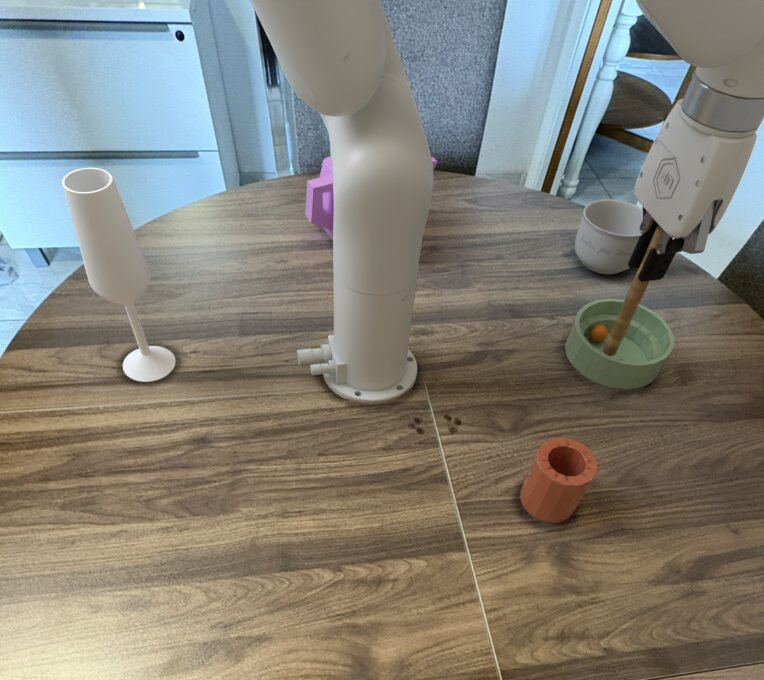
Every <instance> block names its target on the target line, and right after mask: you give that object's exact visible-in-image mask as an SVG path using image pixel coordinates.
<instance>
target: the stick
mask: <svg viewBox="0 0 764 680" xmlns="http://www.w3.org/2000/svg"><path fill="white" fill-rule="evenodd" d="M663 232H664V230H663V229H662V228H661V227H660V226H657V228H656V230H655V233H654V235H653V237H652V239H651V242H650V244H649V246H648V249H647V251H646V253H645V255H644V258H643V260H642V262H641V264H640V267H639V268H637V271H636V273H635V276H634V278H633V280H632V282H631V284H630V287H629V290H628V291H627V294H626V296H625V299H624V300H625V301H624V303H623V305H622V307H621V310H620V312H619V314H618V316H617V319H616V321H615V323H614V325H613V328H612V330H611V332H610V335H609V337H608V339H607V341H606V344H605V346H604V348H603V352H604V354H606V355H608V356H614V355H615V354H616V352H617V350H618V348H619V346H620V344H621V342H622V339H623V337H624V335H625V333H626V331H627V329H628V327H629V324H630V322H631V320H632V318H633V316H634V314H635V312H636V310H637V307H638V305H639V304H640V303H641V301H642V298H643V296H644V294H645V293H646V290H647V288H648V285H649V284H650V282H651V281H645V282H640V280H639V279H638V275H639V273H640V271H641V269H642V267H643V265H644V263H645V260H646V258H647V256H648V254H649V252H650V250H651V249H654V248H656V246H657V244H658V242H659V240H660V238H661V236H662V234H663Z"/></svg>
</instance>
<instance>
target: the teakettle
mask: <svg viewBox="0 0 764 680" xmlns="http://www.w3.org/2000/svg"><path fill="white" fill-rule="evenodd" d="M431 158H432V165H433V171H434V170H435V168H436V166H437V164H438V160H437V159H436V158H434V157H433V156H431ZM304 215H305V217H306V218H307V220H308V221H309V223H310V224H311V225H315V226H318V227H321V228H323V230H324V232H325V233H326V234H327V235H328V237H329V238H330V239H331V241H332V242H333V218H334V198H333V174H332V163H331V155H328V156H327V157H325V158H324V159H323V160H322V162H321V170H320V173H319V177H316V178H312V179H308V180H306V197H305V214H304Z"/></svg>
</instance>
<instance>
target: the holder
mask: <svg viewBox="0 0 764 680" xmlns="http://www.w3.org/2000/svg"><path fill="white" fill-rule="evenodd" d="M597 473H598V460H597V459H596V457H595V455H594V453H593V451H592V450H591V449H590V448H589V447H587V446H586V445H585V444H583V443H582V442H580V441H577V440H575V439H572V438H569V437H553V438H551V439H548V440H546V441H544V442H543V443H542V444H541V445H540V446H539V448H538V449H537V451H536V453H535V454H534V457H533V460H532V463H531V465H530V467H529V469H528V472H527V474H526V476H525V479H524V480H523V483H522V486H521V488H520V495H519V500H520V502H521V505H522V507H523V508H524V510H525V511H526V512H527V513H528V514H529V515H530V516H531V517H532V518H534V519H536V520H538V521H540V522H544V523H551V524H552V523H553V524H555V523H561V522H564V521H566V520H567V519H570V518H571V517H572V515H573V514H574V512H575V511H576V509H577V508H578V506H579V504H580V502H581V501H582V499H583V498H584V495H585V494H586V492H587V491H588V489H589V487H590V485H591V484H592V482H593V481H594V478H595V477H596V475H597Z"/></svg>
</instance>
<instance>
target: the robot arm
mask: <svg viewBox="0 0 764 680" xmlns="http://www.w3.org/2000/svg"><path fill="white" fill-rule="evenodd" d="M249 2H250V3H251V6H252V7H253V10H254V12H255V14H256V16H257V18H258V20H259V22H260V25H261V26H262V28H263V30H264V32H265V35H266V36H267V39H268V40H269V43H270V45H271V46H272V49H273V52H274V54H275V56H276V58H277V61H278V63H279V66H280V68H281V70H282V73H283V75H284V77H285V78H286V80H287V82H288V84H289V85H290V87H291V89H292V91H294V92H295V94H296V95H297V96H298V97H299V98H300V100H301V101H302V102H304V103H305V104H306V105H307V106H308V107H310V108H311V109H312V110H314V111H315V112H318V113H319V115H320V117H321V119H322V121H323V124H324V126H325V128H326V131H327V134H328V140H329V151H330V153H329V155H330V156H331V163H332V174H333V198H334V218H333V241H332V271H333V273H332V275H333V278H332V279H333V281H332V282H333V285H332V286H333V334H330V335H327V343H325V344H323V343H322V344H320V347H317V348H316V347H315V348H303V349H302V348H301V349H296V355H297V356H296V358H297V362H298V366H305V365H309V369H310V374H311V376H319V375H322V376H323V380H324V382H325V384H326V385H327V386H328V388H329V389H331V391H332V392H333V393H334V394H336V395H337V396H339V397H340V398H341V399H344V400H353V401H357V402H362V403H383V402H388V401H391V400H394V399H397V398H399V397H401V396H402V395H404V394H406V393H407V392H408V391H410V390H412V388H413V387H414V385H415V383H416V381H417V376H418V363H417V359H416V357H415V355H414V353H413V352H412V351H411V350H410V349H409V345H410V337H411V330H412V321H413V313H414V308H415V307H414V306H415V298H416V289H417V282H418V275H419V274H418V273H419V272H418V271H419V265H420V257H421V249H422V242H423V237H424V233H425V229H426V224H427V220H428V217H429V212H430V210H431V206H432V205H431V204H432V200H433V194H434V182H435V181H434V179H435V177H434V170H433V165H432V158H431V157H432V154H431V153H432V152H431V149H430V146H429V141H428V139H427V138H428V137H427V135H426V132H425V129H424V125H423V123H422V120H421V116H420V113H419V109H418V106H417V103H416V100H415V97H414V94H413V92H412V88H411V86H410V83H409V80H408V77H407V74H406V71H405V69H404V66H403V62H402V60H401V56H400V54H399V50H398V49H397V46H396V43H395V40H394V37H393V33H392V31H391V28H390V25H389V23H388V19H387V17H386V13H385V10H384V7H383V5H382V2H381V0H249ZM635 2H636V4H637V6H638V8H639V10H640V11H641V14H643V16H644V17H645V18H646V19H647V20H648V21H649V22H650V24H651V25H652V26H653V27H654V29H655V30H657V33H659V34H660V35H661V36H662V37H663V38H664V39H665V40H666V41H667V43H668V44H669V45H670V46H671V47H672V48H673V50H674V51H675V53H676V54H677V55H678V56H679V57H680V59H682V60H683V61H684V62H685V63H687V64H689V65H691V66H693V67H695V69H694V71H693V73H692V76H691V77H692V78H691V80H690V82H689V84H688V87H687V89H686V91H685V94H684V95H683V97H682V98H680V99H679V100H678V101H677V102H676V103H675V105H674V106H673V107H672V108H671V110H670V112H669V114H668V115H667V117H666V118H665V120H664V122H663V124H662V126H661V127H660V129H659V131H658V133H657V135H656V136H655V139H654V140H653V142H652V144H651V146H650V149H649V151H648V153H647V155H646V157H645V159H644V161H643V163H642V166H641V169H640V171H639V173H638V175H637V178H636V180H635V183H634V185H633V186H634V187H633V194H634V196H635V198H636V200H637V202H638V203H639V204H640V205H641V207H642V209H643V220H642V223H641V225H640V228H639V231H640V233H641V234H642V236H640V237H639V240H638V242H637V244H636V246H635V249H634V251H633V253H632V255H631V258H630V260H629V262H628V266H629V269H634V270H635V269H639V267H640V264H641V262H642V260H643V258H644V255H645V253H646V251H647V249H648V246H649V244H650V242H651V239H652V237H653V235H654V233H655V230H656V228H657V226H660V227H661V228H662V229H663V230H664V232H663V234H662V236H661V238H660V240H659V242H658V244H657V246H656V248H654V249H651V250H650V252H649V254H648V256H647V258H646V260H645V263H644V265H643V267H642V269H641V271H640V273H639V275H638V279H639V280H640V282H645V281H650V282H652V281H659V280H662V279H663V278H665V276H666V274H667V272H668V270H669V268H670V266H671V264H672V262H673V260H674V258H675V256H676V254H677V253H681V252H684V253H687V254H690V255H694V254H702V253H704V252H705V249H706V245H707V242H708V237H709V235H711V234H712V233H713V232H714V231H715V229H716V228H717V226H718V225H719V223H720V221H722V218H723V217H724V215H725V213H726V211H727V209H728V208H729V206H730V204H731V201H732V200H733V197H734V195H735V193H736V191H737V189H738V187H739V184H740V183H741V180H742V178H743V176H744V173H745V171H746V168H747V166H748V163H749V161H750V158H751V156H752V153H753V150H754V147H755V145H756V142H757V138H758V135H757V134H756V132H757V131H758V129H759V127H760V125H761V124H762V122H763V120H764V0H635ZM321 362H322V363H321Z"/></svg>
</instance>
